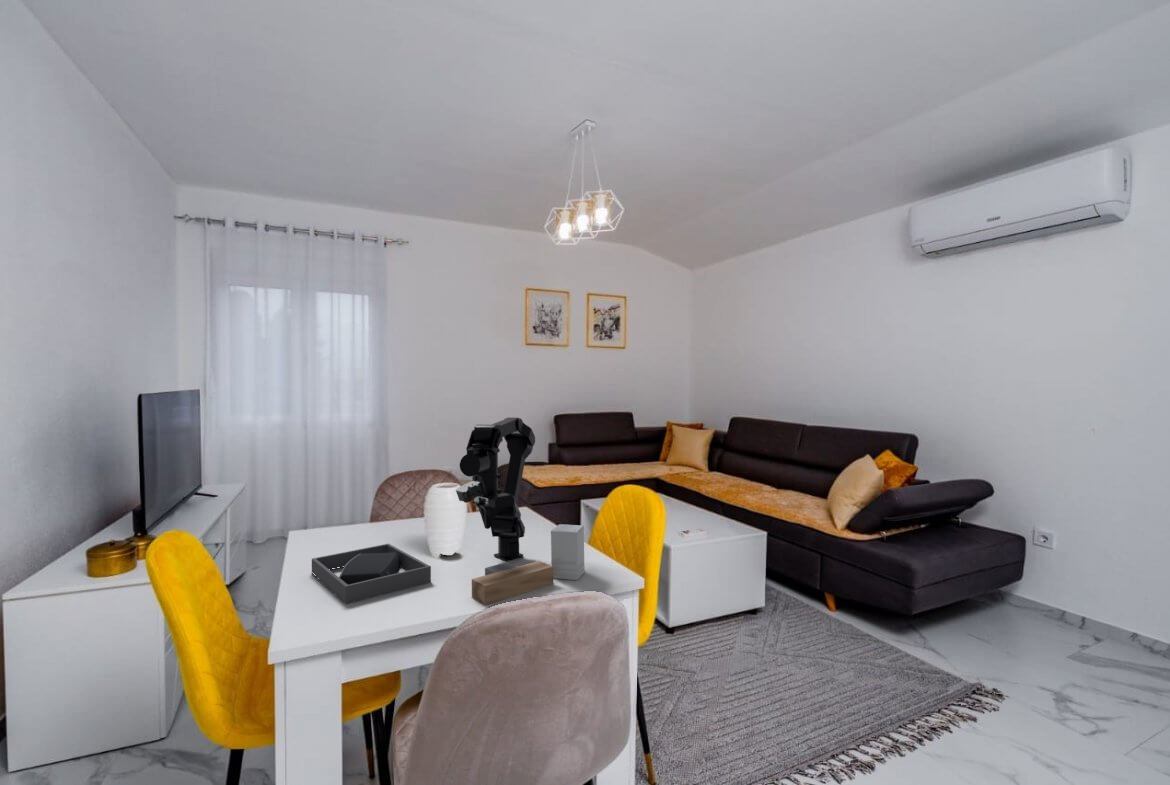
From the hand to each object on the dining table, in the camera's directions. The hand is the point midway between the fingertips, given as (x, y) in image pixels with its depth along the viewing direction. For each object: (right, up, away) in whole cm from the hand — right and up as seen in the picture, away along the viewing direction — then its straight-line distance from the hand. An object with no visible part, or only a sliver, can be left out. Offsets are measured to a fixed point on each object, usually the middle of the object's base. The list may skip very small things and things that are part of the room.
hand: (487, 528), depth 143 cm
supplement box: (+22, -12, -2) cm, 25 cm away
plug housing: (+5, -12, -8) cm, 15 cm away
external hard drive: (-31, -12, -3) cm, 33 cm away
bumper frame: (-31, -12, -3) cm, 33 cm away
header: (+7, -12, -11) cm, 18 cm away
